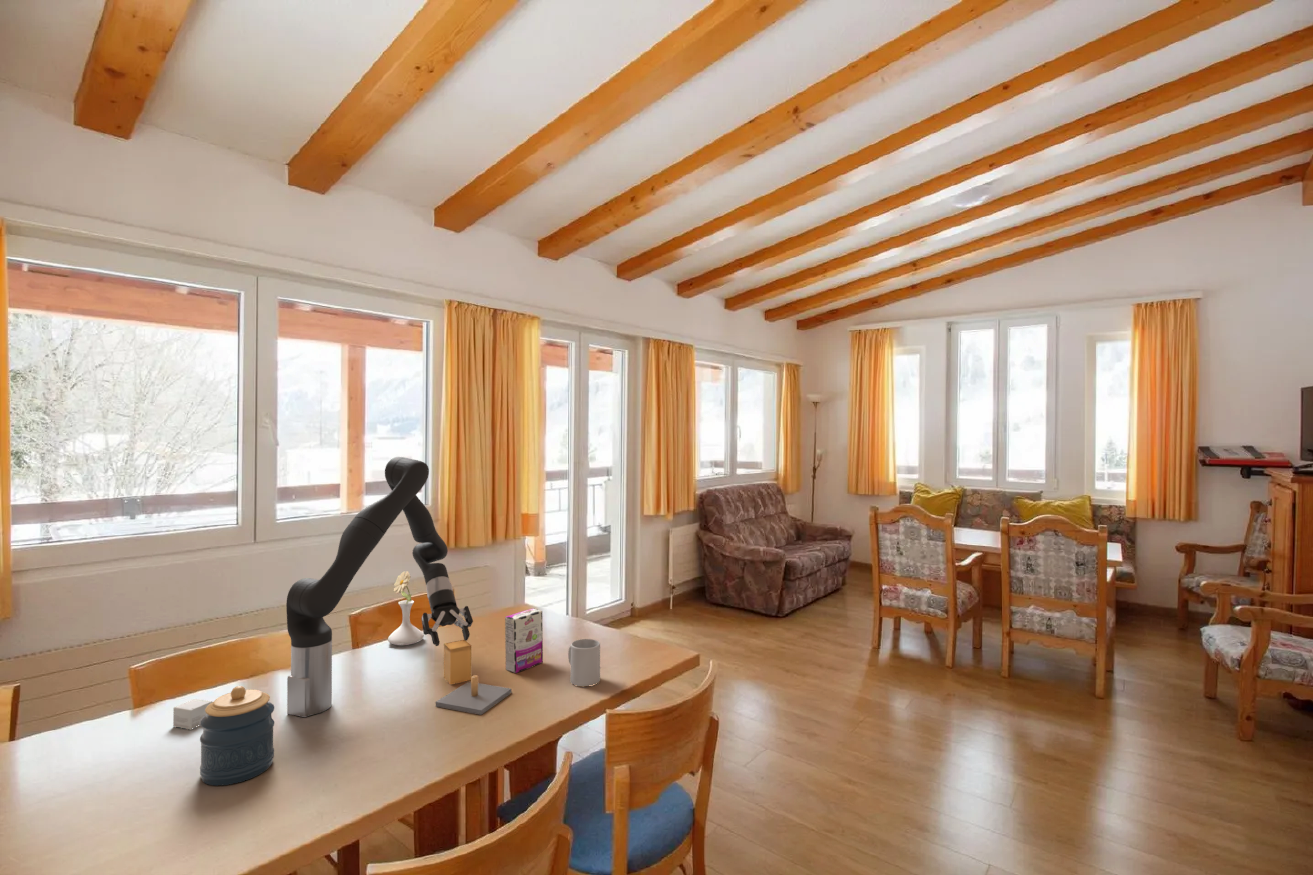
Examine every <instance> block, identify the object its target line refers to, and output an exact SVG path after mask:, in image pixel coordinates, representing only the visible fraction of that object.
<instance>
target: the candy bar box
mask: <svg viewBox="0 0 1313 875" xmlns="http://www.w3.org/2000/svg"><path fill="white" fill-rule="evenodd" d="M504 618H505V619H504V621H505V622H504V626H505V627H504V629H505V630H504V631H505V632H504V634H505V638H504V639H505V642H504V643H505V670H506V671H508V672H511V673H513V674H517V673H520V672H522V671H525V670H528V669H530V668H532V666H533V667H535V666H538V665H540V664H542V663H543V662H544V652H543V651H544V648H543V644H544V643H543V610H542V609H541V610H540V609H538V608H537V609H536V608H530V609H525V610H523V611H519V612H517V613H512V614H510V615H506V616H505V617H504ZM541 662H542V663H541ZM539 663H540V664H539ZM537 664H538V665H537ZM534 665H535V666H534ZM527 668H528V669H527Z"/></svg>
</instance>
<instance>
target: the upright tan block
mask: <svg viewBox="0 0 1313 875" xmlns="http://www.w3.org/2000/svg"><path fill="white" fill-rule="evenodd" d="M471 676H472V645H471V644H470V642H468V640H466V641H465V640H464V639H461V640H455V641H450V642H445V643H443V679H445V681H446V682H447V683H448V684H449V685H454V684H455V683H456V684H460V683H464V682H469V681H471ZM456 684H455V685H456Z"/></svg>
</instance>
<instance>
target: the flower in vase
mask: <svg viewBox="0 0 1313 875" xmlns="http://www.w3.org/2000/svg"><path fill="white" fill-rule="evenodd" d="M410 580H411V574H410V572H409V571H408V570H406V571H405V570H404V571H403V572H401V573H400V575H399V574H398V576H397V578H396V581H395V583H394V584H393V586H394V588H393V592H394V593H395V595H396V594H398V595H399V594H401V595H402V597H403V598H404V599H405V600H401V601H398V605H399V606H400V609H401V613H402V622H401V624H400V626H399V627H397V628H396V629H394V631H393V632H392V633H390V635H389V636H388V638H387V642H388V643H389V644H391V645H396V646H408V645H412V644H413V645H414V644H416V643H419V642H420V641H422V640H423V639H424V638H425V635H424V633H423V631H422V630H420V629H419V628H418V627H416V626H415V625H414V624H412V623H411V620H410V619H411V616H410V615H411V609H412V606H413V604H414V603H415V601H414V600H413V599H412V593H410V589H409V587H408V585H410ZM405 589H407V592H405ZM407 593H408V594H407Z"/></svg>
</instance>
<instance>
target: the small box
mask: <svg viewBox="0 0 1313 875" xmlns="http://www.w3.org/2000/svg"><path fill="white" fill-rule="evenodd" d="M212 702H213V701H212V700H206V699H205V700H204V699H199V698H194V699H191V700H188V701H185V702H184V703H181V704H179V705H176V706H174V707H173V710H172V711H173V723H172V724H173V725H172V727H173V726H176V727H181V728H180V729H182V728H186V729H185V730H188V729H192V728H194V727H196V726H198V725H200V721H201V719H202V718H203V717H204V716H205V715H206V712H205V709H206V707H207V706H208V705H209V704H210V703H212ZM176 727H175V728H176ZM196 728H197V727H196ZM194 729H195V728H194ZM192 730H193V729H192Z"/></svg>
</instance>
